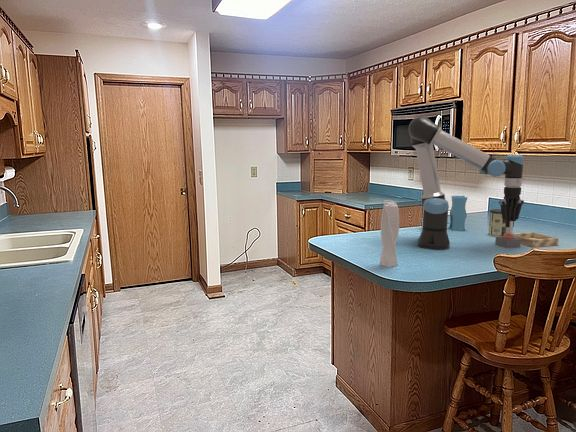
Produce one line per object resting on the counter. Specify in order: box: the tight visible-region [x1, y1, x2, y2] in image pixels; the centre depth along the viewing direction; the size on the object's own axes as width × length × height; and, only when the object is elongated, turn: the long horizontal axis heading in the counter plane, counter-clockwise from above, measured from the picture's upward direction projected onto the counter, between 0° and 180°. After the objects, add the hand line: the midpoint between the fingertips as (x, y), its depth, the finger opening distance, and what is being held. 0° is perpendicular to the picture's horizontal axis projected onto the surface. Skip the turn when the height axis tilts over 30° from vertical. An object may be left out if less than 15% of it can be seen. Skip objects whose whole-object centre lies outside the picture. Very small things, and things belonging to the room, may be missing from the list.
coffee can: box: [487, 208, 506, 238], centre depth 239 cm, size 10×10×14 cm
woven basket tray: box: [512, 231, 559, 248], centre depth 222 cm, size 16×16×4 cm
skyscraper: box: [379, 199, 400, 268], centre depth 179 cm, size 8×8×28 cm
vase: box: [448, 195, 469, 232], centre depth 255 cm, size 8×8×20 cm
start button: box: [503, 233, 514, 239], centre depth 215 cm, size 4×4×4 cm
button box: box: [494, 236, 522, 249], centre depth 216 cm, size 8×8×4 cm
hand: (508, 233), depth 215 cm, fingers closed
